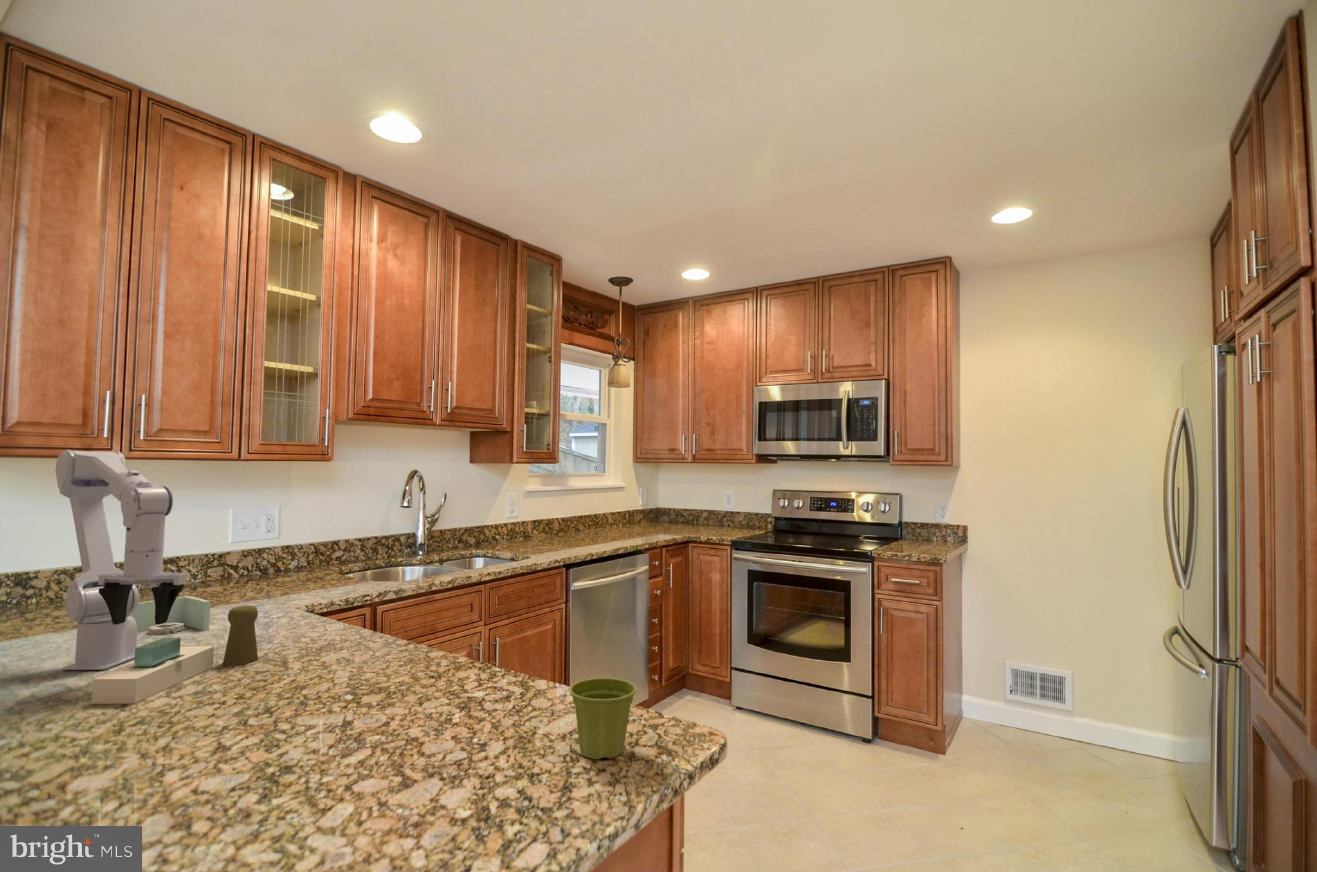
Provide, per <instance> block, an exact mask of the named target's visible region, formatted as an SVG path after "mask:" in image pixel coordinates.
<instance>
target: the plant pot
mask: <svg viewBox="0 0 1317 872" xmlns="http://www.w3.org/2000/svg"><path fill="white" fill-rule="evenodd" d="M568 692H569V694H570V696H572V701H573V705H574V708H575V717H576V725H577V735H578V743H579V744H578V746H579V751H580V754H581V755H582V756H583V757H586V758H589V759H592V760H600V759H602V758H608V759H613V758H616V757H618V756H620V755H622V753H623V752H624V750H625V749H624V748H625V742H626V736H627V730H628V722H629V718H630V717H629V716H630V711H631V704H632V703H633V701H634V695H635V694H636V693H637V686H636V684H635V683H632V682H630V681H628V680H626V679H622V678H621V679H620V678H615V677H613V678H612V677H595V678H588V679H587V678H586V679H583V680H579V681H576V682H574V683H572V684H571V685H570V687H569V691H568Z"/></svg>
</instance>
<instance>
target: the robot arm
mask: <svg viewBox="0 0 1317 872" xmlns="http://www.w3.org/2000/svg"><path fill="white" fill-rule="evenodd" d="M55 463H56V464H55V465H56V466H55V470H54V471H55V476H56V483H57V488H58V490H59V494H60V495H63V496H64V497H66V498H68V499H69V501H70V506H71V507H70V508H71V512H72V517H73V524H74V529H75V530H74V531H75V534H76V535H75V536H76V541H77V546H78V550H79V551H78V553H79V557H80V562H81V564H80V565H81V569H82V574H81V575H80V576H77V577H76V578H75V579H73V581H72V582H71V583H70V584H69V585H68V587H67V588H66V596H67V597H66V601H65V602H66V605H65V607H66V608H65V609H66V614H67V616H68V618H69V619H70V620H71V621H72V622H74V623H75V622H76V623H77V626H76V627H77V629H76V644H75V658H74V663H72V664H69V665H65V666H63V667H61V671H102V670H103V671H104V670H107V669H110V668H112V667H115V666H118V665H121V664H123V663H126V662H128V661H132V660H135V648H137V640H138V639H137V638H138V632H137V623H136V621H135V619H134V618H133V617H131V616H130V613H131V612H133V611H134V609H135V608H136V606H137V604H138V603H139V598H140V595H139V589H138V587H137V586H136V585H156V586H153V587H151V592H152V595H153V601H155V624H162V623H165V622H167V619H168V616H169V613H170V611H171V608H172V606H173V604H174V602H175V600H176V598H177V597H178V596H179V594H180V593H181V592H182V590H183V589H184V586H185V585H184V584H186V583H187V573H185V572H183V573H182V572H168V571H167V572H166V571H163V566H164V565H163V563H164V547H165V546H164V545H165V527H166V517H167V516H169V515H170V514H171V511H172V510H173V509H172V508H173V506H174V505H173V504H174V497H173V492H172V490H171V489H170V488H169V486H167V485H166V486H165V485H164V486H155V485H154V484H153V483H152V482H150V481H149V480H148V479H147V478H146V477H144V476H143V475H142V474H141V472H140V471H139V470H135V469H134V470H128V469H127V468H126V467H127V461H126V458H125V455H124V454H123V453H122V452H120V451H119V450H118V451H88V450H87V451H86V450H70V449H65V450H63V451H62V452H60V453H59V455H58V457H57V459H56V462H55ZM110 495H112V496H113V497H114V498H115V499H116V500H117V501H119V502H120V509H121V514H122V524H123V527H125V541H124V543H125V544H124V558H123V570H122V569H120V568H118V567H116V565H115V561H114V555H113V550H112V545H111V539H110V535H109V534H110V533H109V528H108V524H107V518H106V512H105V507H104V502H103V499H104V498H105V497H108V496H110Z"/></svg>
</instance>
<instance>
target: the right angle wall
mask: <svg viewBox="0 0 1317 872" xmlns="http://www.w3.org/2000/svg"><path fill="white" fill-rule="evenodd" d="M210 612H211V601H210V600H207V599H201V598H198V597H194V596H189V595H186V596H179V597H178V596H177V598H176V600H175V602H174V604H173V606H172V608H171V611H170V613H169V616H168V619H167V622H165V623H162V624H155V601H154V600H149V601H147V600H146V601H142V602H139V601H138V604H137V606H136V608H135V609H134V611H133V612H131V613H130V616H131V617H133V618H134V619H135V621H136V623H137V633H141V632H147V634H148V635H149V636H156V635H157V636H161V635H163V636H164V635H170V634H175V633H178V632H180V631H184V629H185V626H187V627H190V628H193V629H196V630H200V631H203V632H205V631H210V616H211V613H210Z"/></svg>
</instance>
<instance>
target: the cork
mask: <svg viewBox="0 0 1317 872" xmlns="http://www.w3.org/2000/svg"><path fill="white" fill-rule="evenodd" d="M258 615H259V611H258V608H257V607H256V606H253V605H239V606H235V607H233V608H231V609H230V610H229V611H228V614H227V620H228V622H229V623H230V624H229V625H230V626H229V627H230V628H229V631H228V637H227V641H226V646H225V651H224V657H223V661H222V664H223V665H225V666H240V665H246V664H252V663H253V662H254V663H255V662H256V661H258V660H259V655H258V644H257V635H256V627H255V626H256V625H255V624H256V623H255V621H256V620H257V619H258Z"/></svg>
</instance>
